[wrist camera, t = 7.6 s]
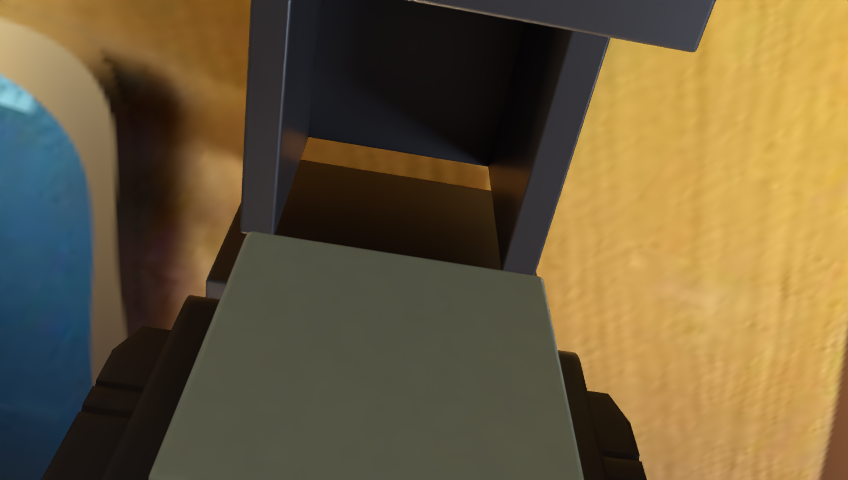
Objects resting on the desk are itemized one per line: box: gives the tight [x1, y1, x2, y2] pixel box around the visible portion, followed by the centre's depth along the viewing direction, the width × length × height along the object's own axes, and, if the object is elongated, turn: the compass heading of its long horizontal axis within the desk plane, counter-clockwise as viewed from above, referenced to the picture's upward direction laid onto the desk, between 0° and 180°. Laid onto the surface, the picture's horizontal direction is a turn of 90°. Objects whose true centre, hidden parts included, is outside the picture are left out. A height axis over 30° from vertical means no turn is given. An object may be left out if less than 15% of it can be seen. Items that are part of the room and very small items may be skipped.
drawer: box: [206, 0, 610, 299], centre depth 19 cm, size 16×8×7 cm, turn 170°
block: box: [149, 232, 584, 480], centre depth 9 cm, size 4×4×4 cm
